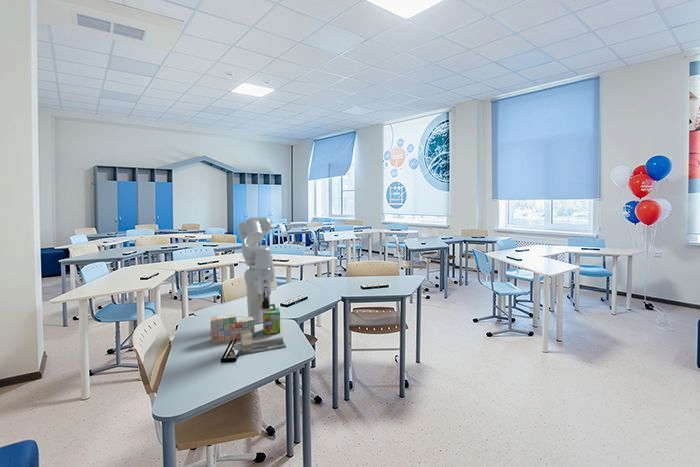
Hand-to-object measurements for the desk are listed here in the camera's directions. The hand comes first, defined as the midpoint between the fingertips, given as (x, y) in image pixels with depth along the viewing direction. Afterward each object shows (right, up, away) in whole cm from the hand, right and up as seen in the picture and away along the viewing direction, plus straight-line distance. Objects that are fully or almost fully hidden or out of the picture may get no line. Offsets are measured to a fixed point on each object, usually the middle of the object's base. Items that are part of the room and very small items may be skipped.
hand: (264, 306), depth 191 cm
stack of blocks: (-18, -18, +5) cm, 26 cm away
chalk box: (+1, -16, +14) cm, 22 cm away
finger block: (0, -1, 0) cm, 2 cm away
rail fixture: (-1, -18, -9) cm, 21 cm away
